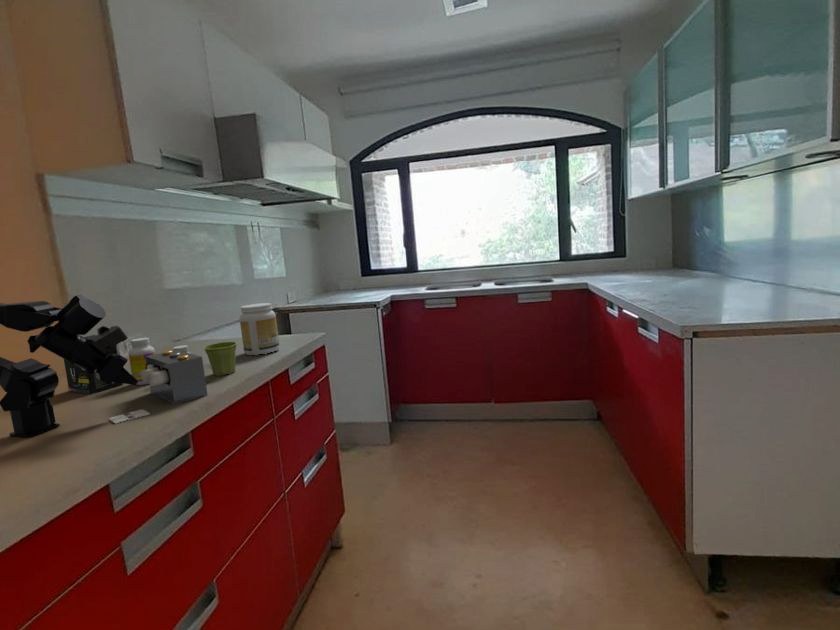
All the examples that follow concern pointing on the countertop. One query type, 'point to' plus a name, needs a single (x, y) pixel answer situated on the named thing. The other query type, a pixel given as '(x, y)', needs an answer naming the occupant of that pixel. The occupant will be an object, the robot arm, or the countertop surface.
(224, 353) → the plant pot
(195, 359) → the console
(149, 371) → the button
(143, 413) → the card
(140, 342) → the supplement bottle
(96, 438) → the countertop surface
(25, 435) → the robot arm
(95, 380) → the tampon box
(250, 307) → the supplement tub
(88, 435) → the countertop surface
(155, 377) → the button
